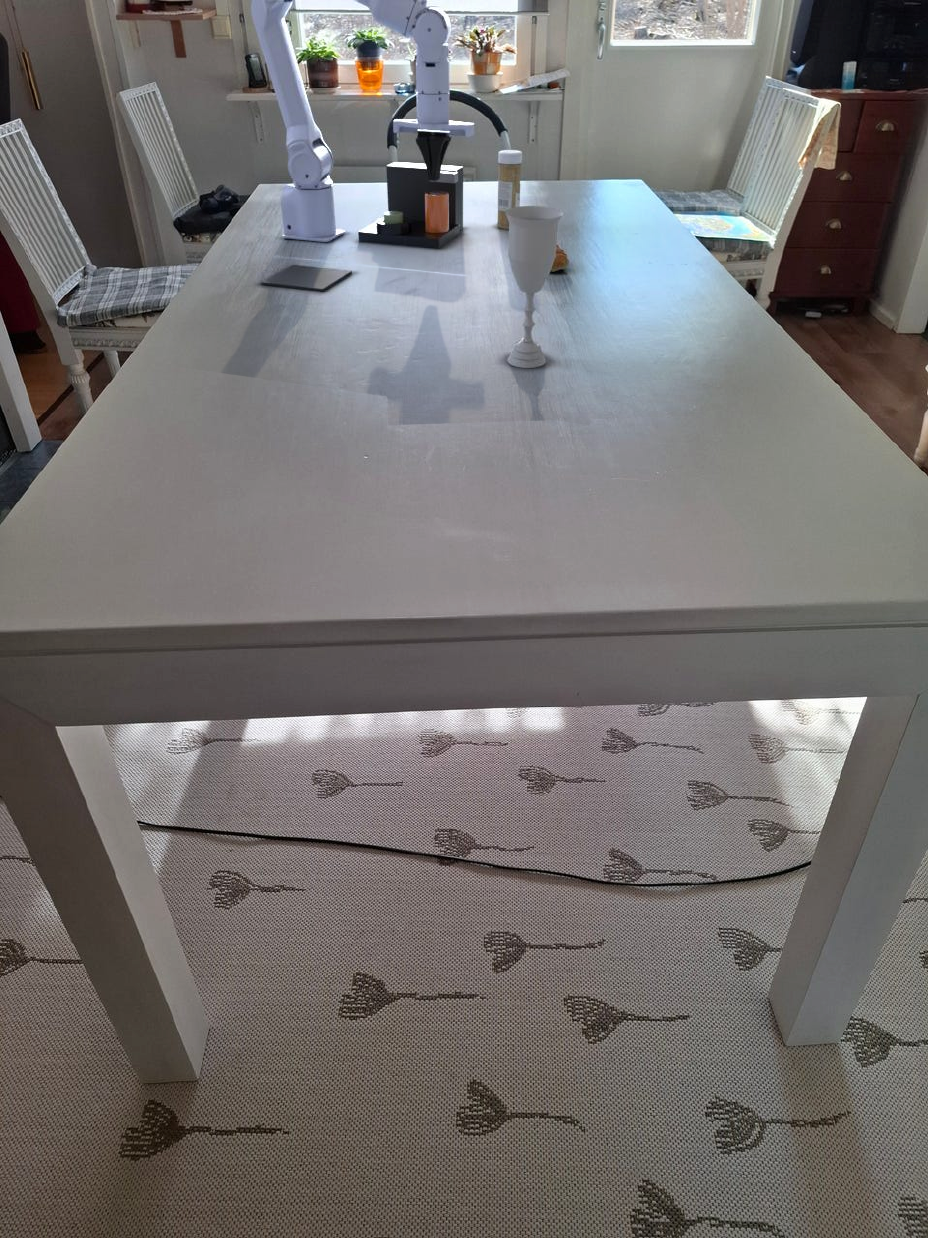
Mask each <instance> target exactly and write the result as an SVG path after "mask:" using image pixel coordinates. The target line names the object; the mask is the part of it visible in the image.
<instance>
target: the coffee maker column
mask: <svg viewBox="0 0 928 1238" xmlns="http://www.w3.org/2000/svg"><path fill="white" fill-rule="evenodd" d="M385 167H386V168H385V169H386V171H385V172H386V188H387V190H386V193H387V212H389V211H398V212H402V213H403V218H407V219H410V220H413V221H425V192H428V191H445V192H448V193H449V224H460V231H461V230H463V229H464V166H463V165H462V166H458V165H446V164H445V165H444V164H442V167H441V172H440V179H439V180H437V181H430V180H429V178H428V173H427V168H426V165H425V163H417V162H416V163H415V162H400V161H399V162H398V161H394V162H392V163H389V164H387V165H386V166H385Z"/></svg>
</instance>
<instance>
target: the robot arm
mask: <svg viewBox="0 0 928 1238" xmlns="http://www.w3.org/2000/svg"><path fill="white" fill-rule="evenodd" d="M353 1H355V2H357V3H358V4H361V5H362V6H364V7H367V8H368V10H369V11H370V14H371V17H372V19H373V21H374V22H376V23H377V24H379V25H382V26H383V27H386V28H387V29H389V30H391V31H393V32H395V33H397V34H399V35H400V36H402V37H404V38H406V39H411V38H412V39H413V41H414V43H415V45H416V52H415V53H416V60H415V85H416V86H415V89H416V119H413V118H411V119H410V118H409V119H404V118H403V119H402V118H399V119H398V118H396V119H394V120H392V127H393V133H394V134H400V133H401V134H402V133H403V134H417V137H415V143H416V145H417V147H418V149H419V151H420V153H421V156H422V158H423V161H424V164H425V165H426V168H427V173H428V178H429V180H430V181H437V180H439V179H440V172H441V167H442V165H443V162H444V159H445V157H446V153H447V150H448V147H449V146H450V143H451V141H452V136H455V137H456V136H457V137H465V138H472V137H474V136H475V122H464V121H455V120H450V115H451V114H450V113H451V112H450V111H451V110H450V109H451V108H450V103H451V102H450V91H451V90H450V87H451V86H450V85H451V84H450V79H451V78H450V60H449V55H450V49H449V43H447V42H448V41H449V39H450V35H451V31H452V25H451V20H450V17H449V16H448V15H447V13H446V12H445V11H444V10H442V9H441V8H440V6H438V5H430V6H428V3H429V0H353ZM293 3H294V0H251V7H250V14H251V19H252V21H253V24H254V29H255V31H256V34H257V38H258V41H259V45H260V48H261V52H262V54H263V58H264V61H265V64H266V67H267V70H268V74H269V77H270V81H271V85H272V87H273V90H274V94H275V97H276V100H277V104H278V107H279V110H280V113H281V117H282V120H283V123H284V126H285V129H286V138H285V147H286V150H287V154H288V155H287V156H288V160H287V170H288V173H289V175H290V177H291V180H292V183H287V184H285V185H284V186H283V187H282V190H281V192H280V193H281V194H280V195H281V196H280V207H281V216H282V217H281V218H282V226H283V234H282V238H283V239H289V240H300V241H310V242H320V243H321V242H322V243H328V242H331V241H333V240H334V239H337V238H338V237H339V236H341V235H343V234H345V233H346V231H345V230H344V229H337V225H336V224H337V223H336V212H335V198H334V197H335V196H334V186H333V183H334V182H333V179H331V177H330V174H331V172H332V170H333V168H334V155H333V153H332V151H331V149H330V148H329V146H328V145H327V144H326V142H325V141H324V139H323V135H322V132H321V131H320V128H319V127H318V126H317V124H316V123H315V120H314V116H313V113H312V110H311V106H310V103H309V99H308V96H307V93H306V88H305V86H304V82H303V79H302V74H301V72H300V68H299V65H298V62H297V58H296V54H295V51H294V48H293V43H292V41H291V40H292V39H291V37H290V34H289V29H288V26H287V23H286V17H287V14H288V12H289V11H290V8H291V6H292V4H293Z"/></svg>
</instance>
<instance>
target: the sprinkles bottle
mask: <svg viewBox="0 0 928 1238" xmlns="http://www.w3.org/2000/svg"><path fill="white" fill-rule="evenodd" d="M497 154H498V155H497V163H498V180H497V222H496V226H497V227H498V229H504V230H509V221H508V218H507V216H506V210H508V209H510V208H514V207H520V206H521V169H522V168H521V167H522V162H523V152H522V151H521V150H517V149H503V150H500V151H498V153H497Z"/></svg>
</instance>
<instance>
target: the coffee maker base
mask: <svg viewBox="0 0 928 1238" xmlns="http://www.w3.org/2000/svg"><path fill="white" fill-rule="evenodd" d="M357 235H358V242H359V243H366V244H367V243H369V244H378V245H387V246H399V247H410V248H420V249H431V250H440V249H442V248H444V247H445V245H447V244H448V243H450V242H451V241H453V240H454V239H456V238H457V237H458V236H460V235H461V230H460V224H449V231H448V232H445V233H429V232H427V231H426V230H425V221H413V220H410V219H407V218H403V223H398V224H389V223H384V217H381V218H378V219H376V220H375V222H373V223H371V224H369V225H367V226H366V227H365V228H362V229H360V230H359V231H358V234H357Z"/></svg>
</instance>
